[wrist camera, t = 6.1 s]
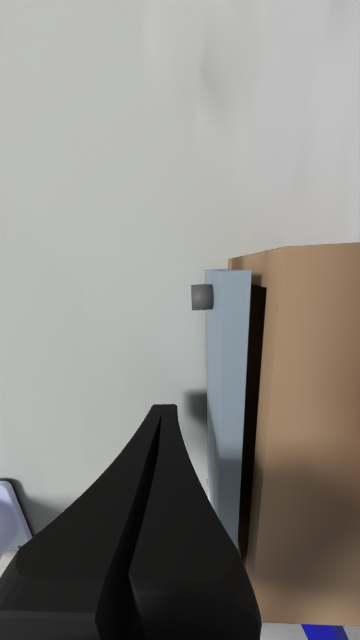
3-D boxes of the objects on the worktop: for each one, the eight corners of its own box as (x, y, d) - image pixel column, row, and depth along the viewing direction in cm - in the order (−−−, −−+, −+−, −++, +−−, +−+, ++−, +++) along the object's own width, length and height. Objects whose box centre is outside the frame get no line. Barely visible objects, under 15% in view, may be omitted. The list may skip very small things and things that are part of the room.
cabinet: (224, 478, 14) (249, 622, 8) (228, 259, 10) (284, 246, 4) (291, 478, 14) (364, 626, 8) (324, 253, 10) (524, 233, 4)
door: (197, 485, 14) (202, 594, 9) (189, 270, 10) (192, 273, 5) (220, 485, 14) (236, 595, 9) (222, 269, 10) (255, 270, 5)
